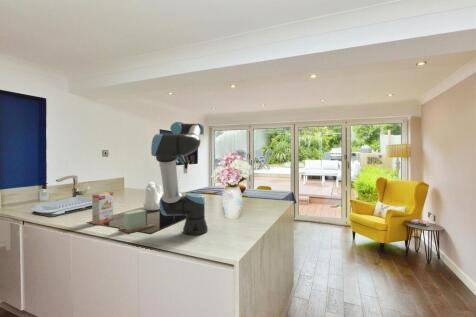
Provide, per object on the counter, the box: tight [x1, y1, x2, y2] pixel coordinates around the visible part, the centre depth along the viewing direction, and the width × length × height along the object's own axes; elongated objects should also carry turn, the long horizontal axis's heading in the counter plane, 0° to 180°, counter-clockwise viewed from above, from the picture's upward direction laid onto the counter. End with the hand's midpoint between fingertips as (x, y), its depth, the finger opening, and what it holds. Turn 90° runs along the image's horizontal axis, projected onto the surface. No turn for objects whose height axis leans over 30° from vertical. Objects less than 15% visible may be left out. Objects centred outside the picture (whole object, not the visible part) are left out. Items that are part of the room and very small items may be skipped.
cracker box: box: [91, 191, 114, 226], centre depth 172 cm, size 14×6×21 cm, turn 168°
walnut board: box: [118, 222, 156, 235], centre depth 158 cm, size 13×18×1 cm
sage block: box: [122, 208, 148, 230], centre depth 157 cm, size 6×10×13 cm
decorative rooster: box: [143, 181, 164, 211], centre depth 211 cm, size 25×16×25 cm, turn 159°
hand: (179, 172), depth 176 cm, fingers open, 13 cm apart
